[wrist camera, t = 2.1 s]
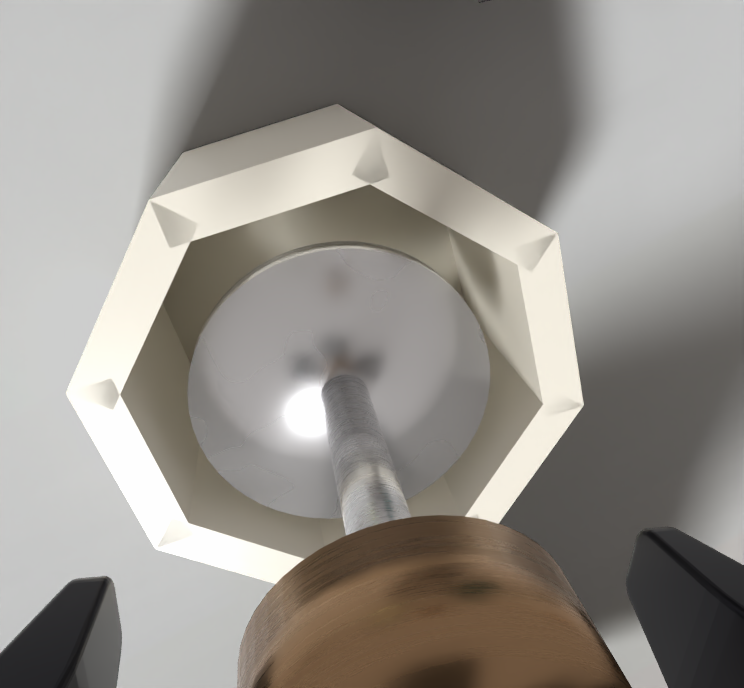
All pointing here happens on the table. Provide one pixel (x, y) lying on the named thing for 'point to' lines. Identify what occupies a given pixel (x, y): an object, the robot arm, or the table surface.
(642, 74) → the table surface
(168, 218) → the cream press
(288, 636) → the brown and grey doorknob
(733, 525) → the table surface
